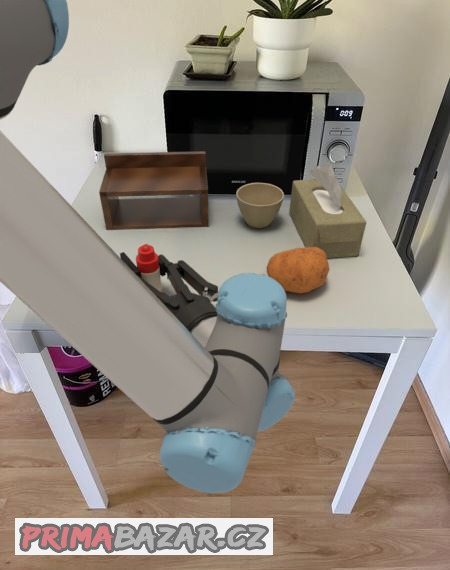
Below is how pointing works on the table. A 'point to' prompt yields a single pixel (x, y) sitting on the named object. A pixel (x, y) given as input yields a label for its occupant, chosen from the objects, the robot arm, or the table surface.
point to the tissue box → (326, 214)
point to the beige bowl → (259, 203)
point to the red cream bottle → (149, 266)
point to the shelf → (154, 190)
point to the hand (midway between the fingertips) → (134, 255)
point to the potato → (299, 269)
